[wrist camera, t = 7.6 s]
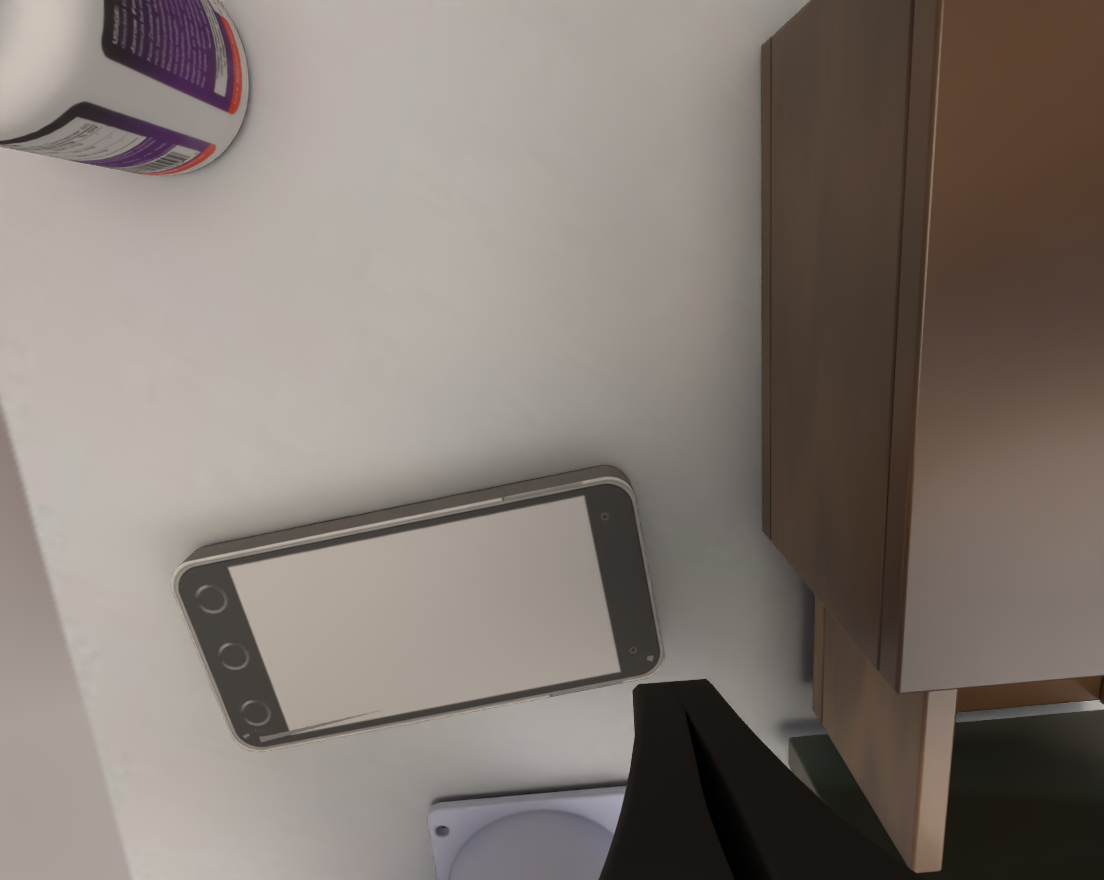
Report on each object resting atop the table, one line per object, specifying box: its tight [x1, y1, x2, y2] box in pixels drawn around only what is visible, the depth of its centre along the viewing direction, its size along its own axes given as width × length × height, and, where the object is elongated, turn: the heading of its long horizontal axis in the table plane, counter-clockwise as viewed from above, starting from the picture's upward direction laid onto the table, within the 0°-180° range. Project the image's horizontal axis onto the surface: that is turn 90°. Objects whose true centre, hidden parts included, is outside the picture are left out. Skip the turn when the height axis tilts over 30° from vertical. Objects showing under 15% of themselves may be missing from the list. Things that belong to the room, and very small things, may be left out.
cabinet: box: [762, 0, 1104, 694], centre depth 16 cm, size 15×13×9 cm
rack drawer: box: [789, 595, 1104, 880], centre depth 19 cm, size 18×11×7 cm, turn 5°
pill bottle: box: [0, 0, 249, 176], centre depth 13 cm, size 5×5×10 cm
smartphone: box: [171, 466, 664, 752], centre depth 22 cm, size 7×1×15 cm
